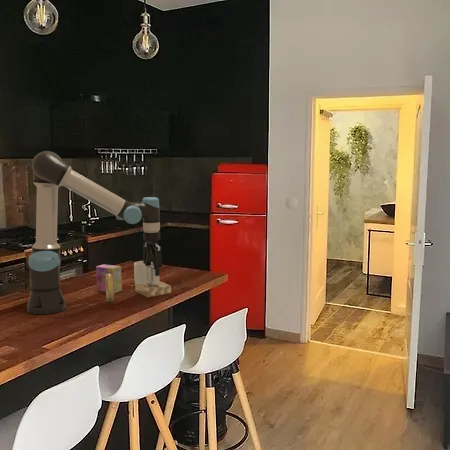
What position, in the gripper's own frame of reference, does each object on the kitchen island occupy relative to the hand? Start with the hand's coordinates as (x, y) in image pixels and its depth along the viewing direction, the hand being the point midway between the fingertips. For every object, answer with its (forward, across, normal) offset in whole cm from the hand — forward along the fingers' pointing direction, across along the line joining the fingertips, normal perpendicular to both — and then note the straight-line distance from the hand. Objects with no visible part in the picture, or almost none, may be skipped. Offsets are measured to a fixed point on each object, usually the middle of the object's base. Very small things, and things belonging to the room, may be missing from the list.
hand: (152, 280), depth 245 cm
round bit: (+5, -2, +22) cm, 23 cm away
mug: (+6, +16, -4) cm, 17 cm away
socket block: (+5, 0, 0) cm, 5 cm away
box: (+6, +15, +15) cm, 22 cm away
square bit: (+5, 0, 0) cm, 5 cm away
